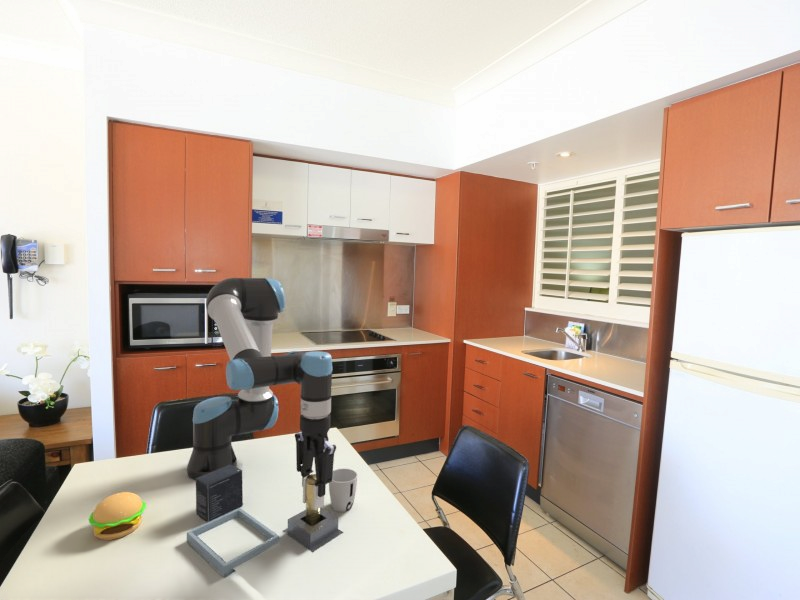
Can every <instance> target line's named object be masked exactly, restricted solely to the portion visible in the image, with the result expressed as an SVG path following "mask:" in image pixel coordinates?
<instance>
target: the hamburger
mask: <svg viewBox="0 0 800 600" xmlns="http://www.w3.org/2000/svg"><path fill="white" fill-rule="evenodd" d="M146 509H147V504H146V502H144V501H143V500H142V499H141V497H140V495H138V494H136V493H133V492H130V491H121V492H116V493H113V494H110V495H108V496H106V497H105V498H103V499H102V500H101V501H100V502H98V504H97V505H96V506H95V508H94V509H93V512H91V513H90V515H89V518H88V522H89V524H90V525H91V526H93V527H94V528H93V534H94V536H95V537H96V538H97V539H99V540H103V541H108V540H115V539H120V538H124V537H126V536H128V535H129V534H131V533H133V532H134V531H135V530H137V529H138V528H139V527H140V525H141V523H142V521H143V517H142V514H143V512H144V511H145V510H146Z"/></svg>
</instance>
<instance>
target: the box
mask: <svg viewBox="0 0 800 600" xmlns="http://www.w3.org/2000/svg"><path fill="white" fill-rule="evenodd" d="M243 499H244V497H243V469H241V468H238V467H235V466H232V465H228V466H225V467H223V468H220V469H218V470H215V471H213V472H210V473H208V474H205V475H203V476H200V477H198V478H196V480H195V500H196V501H195V513H196V516H197V517H199V518H201V519H202V520H204V521H205V522H206V523H208V522H210V521H212V520H214V519H216V518H219V517H221V516H223V515H225V514H227V513H230V512H232V511H234V510H236V509H238V508H241V507H242V506H243V505H244V503H243V501H244V500H243Z"/></svg>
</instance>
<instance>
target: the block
mask: <svg viewBox="0 0 800 600" xmlns="http://www.w3.org/2000/svg"><path fill="white" fill-rule="evenodd" d="M282 533H284V534H286V535H287V536H288V537H290V538H292V539H293V540H294V541H295V542H296V543H298V544H300V545H301V546H302V547H304V548H305V549H307V550H308V551H309V552H312V553H314V552H316V551H317V550H318V549H320V548H322V547H323V546H325V545H326V544H328V543H329V542H331V541H333V540H334V539H336V538H337V537H339V536H341V535H343V534H344V531H343V530H341V529H339V517H338V516H337V515H335V514H333V513H331V512H330V511H328V510H326V509H324V508H323V507H320V522H319V523H317V524H316V525H314V526H310V525H309V524H307V523H306V509H304V510H302V511H300V512H299V513H297V514H295V515H292V516H291V517H290V518H288V519H287V527H286V528H285V529H284V530H282Z"/></svg>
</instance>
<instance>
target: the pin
mask: <svg viewBox="0 0 800 600" xmlns="http://www.w3.org/2000/svg"><path fill="white" fill-rule="evenodd" d="M311 474H312V475H311ZM311 474H310V475H309V476H307V483H306V503H305V510H306V523H307V524H309V525H310V526H314V525H316V524H317V523H319V522H320V508H318V509H317V510H314V483H316V482H317V481H316V473H315V474H313V473H311Z"/></svg>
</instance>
